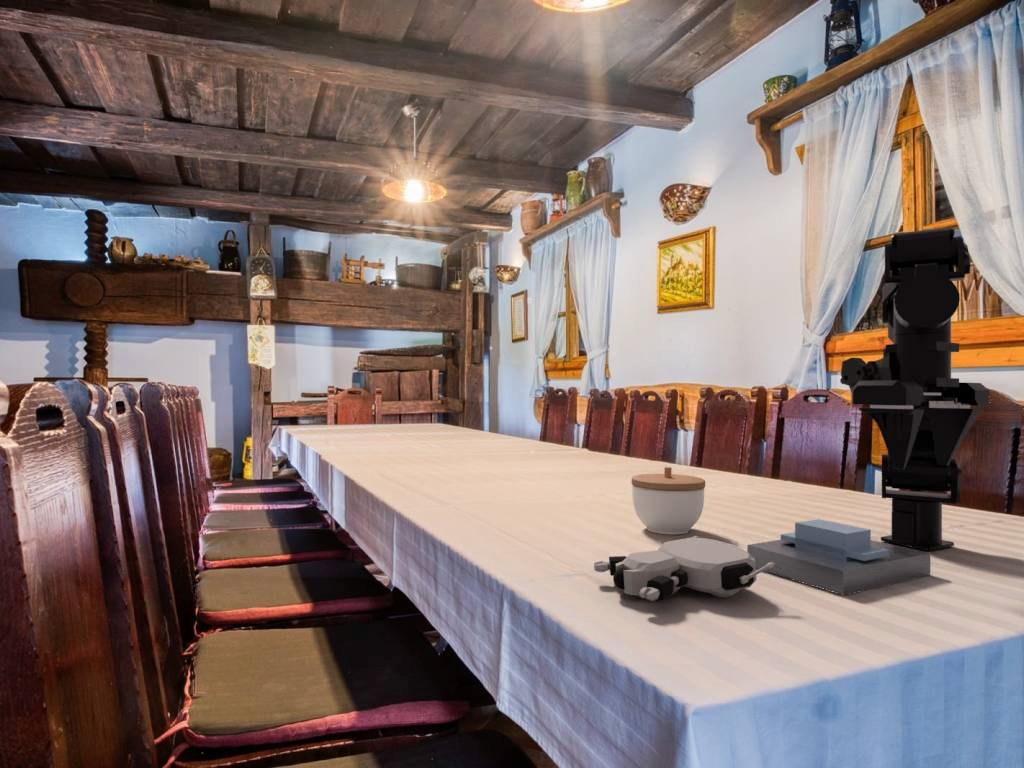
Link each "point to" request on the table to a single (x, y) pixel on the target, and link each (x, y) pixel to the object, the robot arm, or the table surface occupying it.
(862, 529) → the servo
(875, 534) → the table surface
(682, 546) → the robot toy
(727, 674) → the table surface
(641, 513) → the lidded jar
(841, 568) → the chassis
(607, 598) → the table surface
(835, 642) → the table surface
